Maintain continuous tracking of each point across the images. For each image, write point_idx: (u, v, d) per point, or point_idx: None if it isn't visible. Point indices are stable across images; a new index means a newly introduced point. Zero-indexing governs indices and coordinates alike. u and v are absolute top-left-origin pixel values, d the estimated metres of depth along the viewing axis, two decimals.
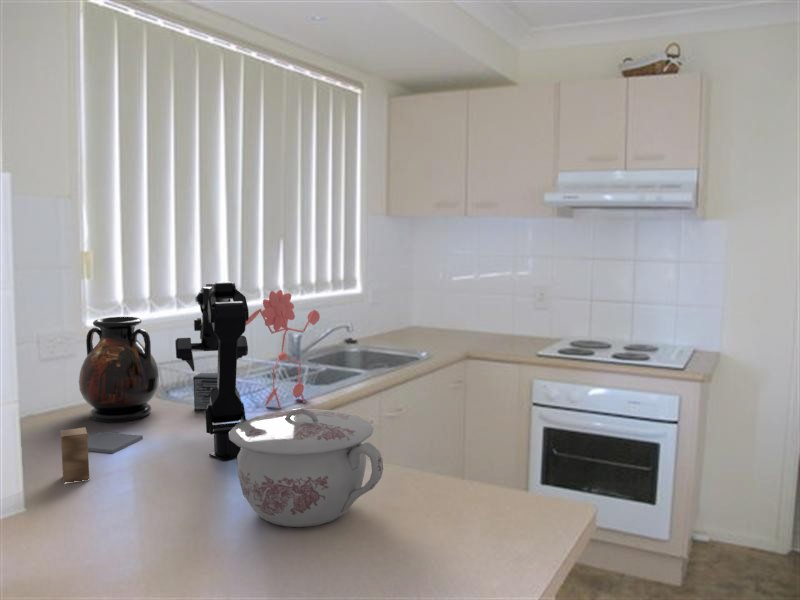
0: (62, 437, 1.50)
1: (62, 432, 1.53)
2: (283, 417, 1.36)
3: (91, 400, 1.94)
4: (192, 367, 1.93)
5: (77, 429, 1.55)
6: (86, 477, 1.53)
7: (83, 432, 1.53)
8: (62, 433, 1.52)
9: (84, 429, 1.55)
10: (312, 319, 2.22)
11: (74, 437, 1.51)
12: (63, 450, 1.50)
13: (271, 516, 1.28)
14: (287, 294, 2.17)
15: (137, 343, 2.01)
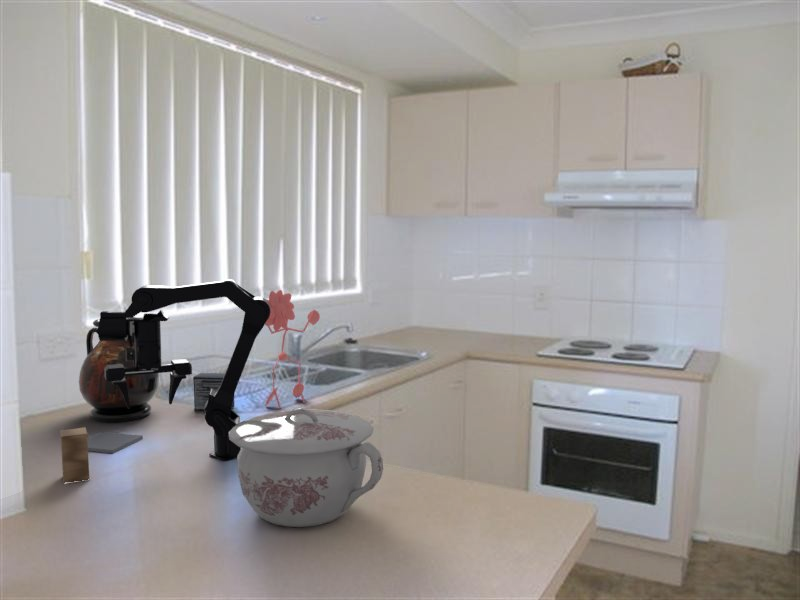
0: (62, 437, 1.50)
1: (62, 432, 1.53)
2: (283, 417, 1.36)
3: (91, 400, 1.94)
4: (127, 399, 1.61)
5: (77, 429, 1.55)
6: (86, 477, 1.53)
7: (83, 432, 1.53)
8: (62, 433, 1.52)
9: (84, 429, 1.55)
10: (312, 319, 2.22)
11: (74, 437, 1.51)
12: (63, 450, 1.50)
13: (271, 516, 1.28)
14: (287, 294, 2.17)
15: None
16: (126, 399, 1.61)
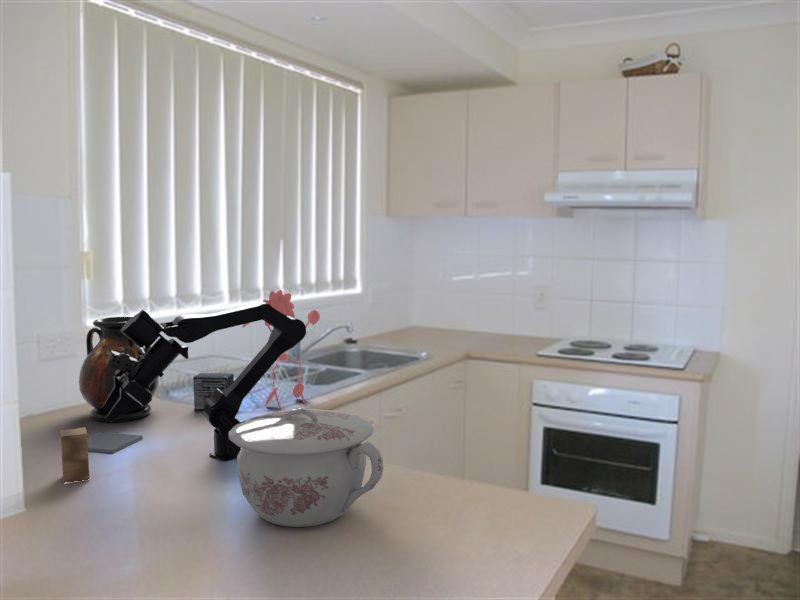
0: (62, 437, 1.50)
1: (62, 432, 1.53)
2: (283, 417, 1.36)
3: (91, 400, 1.94)
4: None
5: (77, 429, 1.55)
6: (86, 477, 1.53)
7: (83, 432, 1.53)
8: (62, 433, 1.52)
9: (84, 429, 1.55)
10: (312, 319, 2.22)
11: (74, 437, 1.51)
12: (63, 450, 1.50)
13: (271, 516, 1.28)
14: (287, 294, 2.17)
15: None
16: None
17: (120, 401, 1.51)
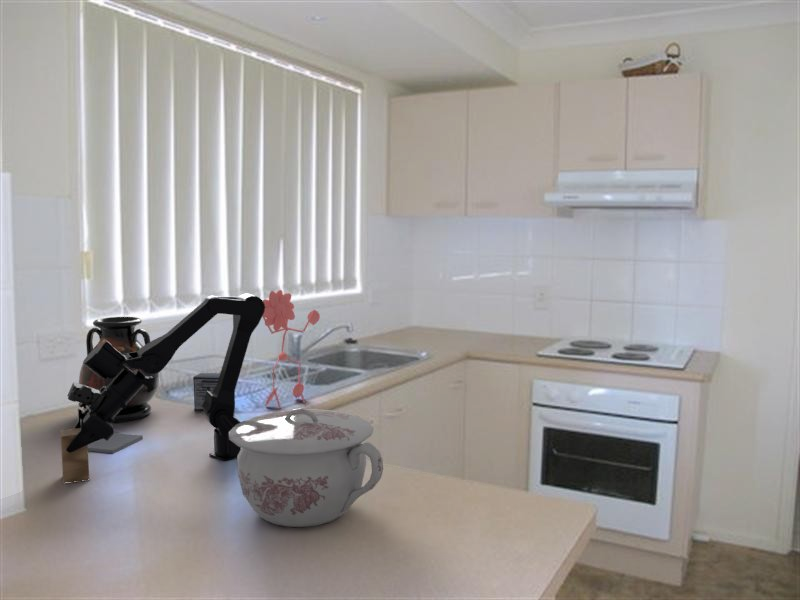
0: (62, 437, 1.50)
1: (62, 432, 1.53)
2: (283, 417, 1.36)
3: None
4: None
5: (77, 429, 1.55)
6: (86, 477, 1.53)
7: None
8: (62, 433, 1.52)
9: None
10: (312, 319, 2.22)
11: (74, 436, 1.51)
12: (63, 450, 1.50)
13: (271, 516, 1.28)
14: (287, 294, 2.17)
15: (137, 343, 2.01)
16: None
17: (80, 433, 1.50)
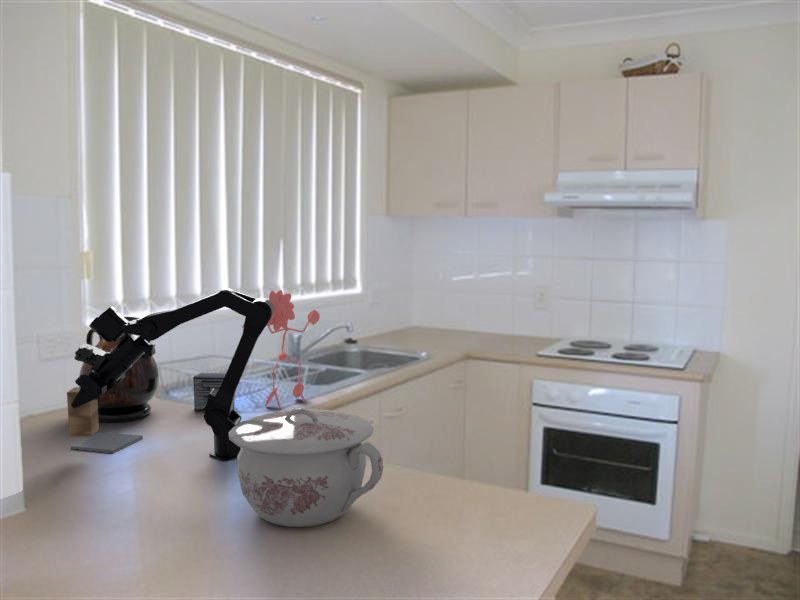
0: (67, 393, 1.62)
1: (73, 389, 1.65)
2: (283, 417, 1.36)
3: None
4: (83, 403, 1.62)
5: None
6: (89, 433, 1.64)
7: None
8: (71, 389, 1.64)
9: None
10: (312, 319, 2.22)
11: None
12: (68, 405, 1.62)
13: (271, 516, 1.28)
14: (287, 294, 2.17)
15: None
16: None
17: (81, 390, 1.61)
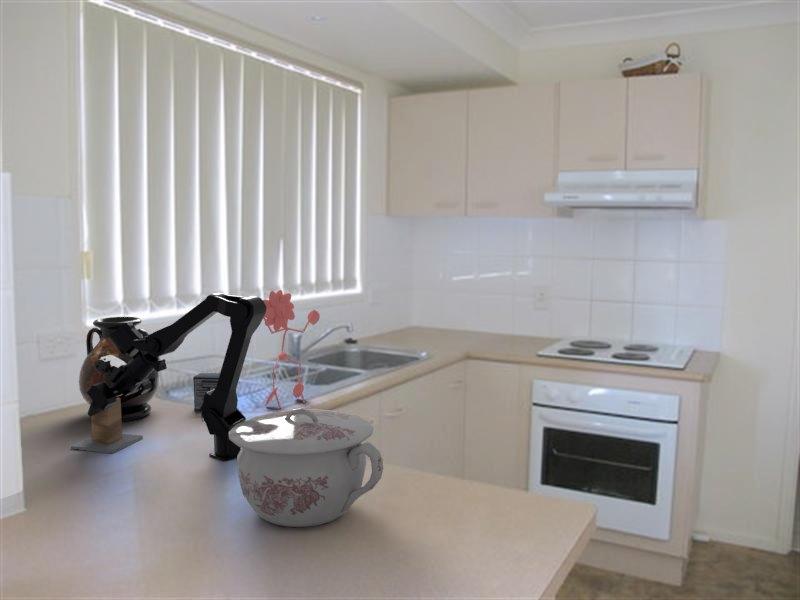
0: None
1: None
2: (283, 417, 1.36)
3: (91, 400, 1.94)
4: None
5: None
6: (107, 441, 1.75)
7: None
8: None
9: None
10: (312, 319, 2.22)
11: None
12: None
13: (271, 516, 1.28)
14: (287, 294, 2.17)
15: None
16: None
17: (93, 401, 1.71)
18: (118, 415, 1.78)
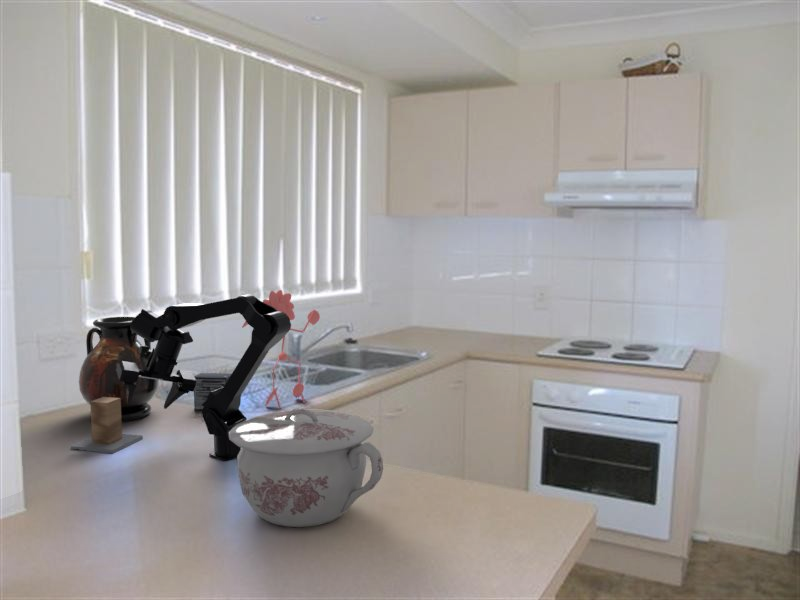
0: (91, 402, 1.75)
1: (99, 398, 1.78)
2: (283, 417, 1.36)
3: (91, 400, 1.94)
4: (130, 397, 1.71)
5: (112, 398, 1.78)
6: (107, 441, 1.75)
7: (108, 401, 1.75)
8: (97, 399, 1.77)
9: (115, 399, 1.77)
10: (312, 319, 2.22)
11: (98, 404, 1.75)
12: (91, 413, 1.76)
13: (271, 516, 1.28)
14: (287, 294, 2.17)
15: (137, 343, 2.01)
16: (129, 397, 1.71)
17: None
18: (118, 415, 1.78)
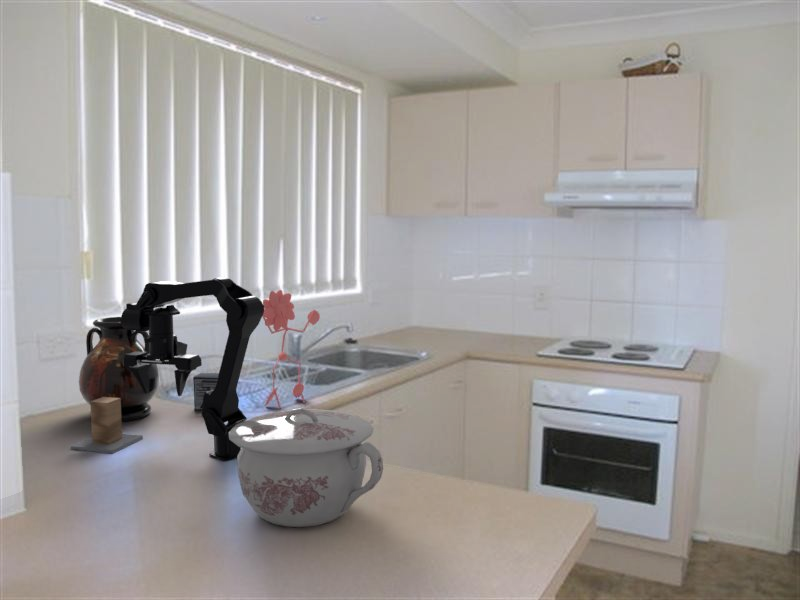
0: (91, 402, 1.75)
1: (99, 398, 1.78)
2: (283, 417, 1.36)
3: (91, 400, 1.94)
4: (141, 385, 1.75)
5: (112, 398, 1.78)
6: (107, 441, 1.75)
7: (108, 401, 1.75)
8: (97, 399, 1.77)
9: (115, 399, 1.77)
10: (312, 319, 2.22)
11: (98, 404, 1.75)
12: (91, 413, 1.76)
13: (271, 516, 1.28)
14: (287, 294, 2.17)
15: (137, 343, 2.01)
16: (141, 384, 1.75)
17: None
18: (118, 415, 1.78)
